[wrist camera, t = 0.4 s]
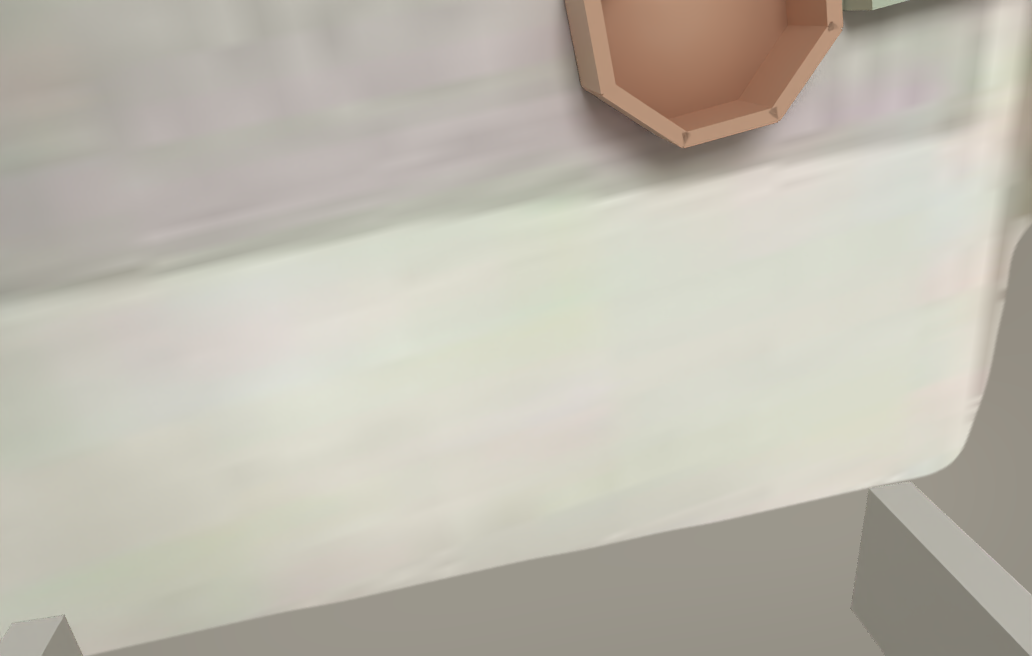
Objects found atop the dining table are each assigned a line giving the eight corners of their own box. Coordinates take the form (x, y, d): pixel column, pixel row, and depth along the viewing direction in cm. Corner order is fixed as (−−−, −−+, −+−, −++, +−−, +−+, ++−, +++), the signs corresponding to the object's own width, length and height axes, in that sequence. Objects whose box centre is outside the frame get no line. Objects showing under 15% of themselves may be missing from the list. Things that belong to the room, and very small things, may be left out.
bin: (544, -93, 32) (563, -108, 28) (782, -157, 32) (833, -181, 28) (593, 151, 37) (614, 167, 33) (800, 93, 37) (846, 102, 33)
